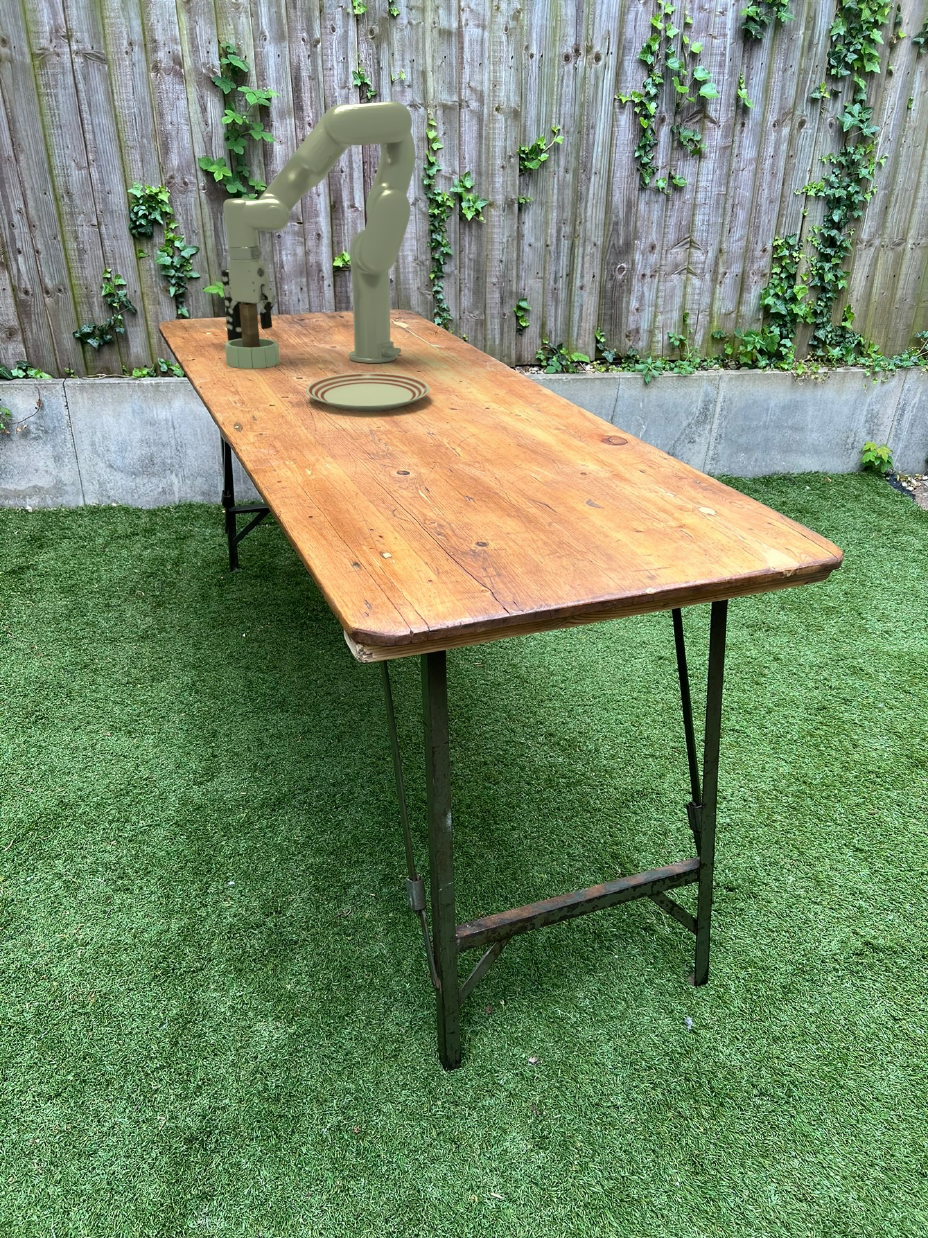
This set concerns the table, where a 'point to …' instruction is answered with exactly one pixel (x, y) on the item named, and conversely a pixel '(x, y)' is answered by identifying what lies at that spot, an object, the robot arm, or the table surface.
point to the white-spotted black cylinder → (230, 312)
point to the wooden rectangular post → (249, 325)
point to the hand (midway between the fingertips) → (253, 326)
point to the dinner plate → (368, 391)
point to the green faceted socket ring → (252, 354)
